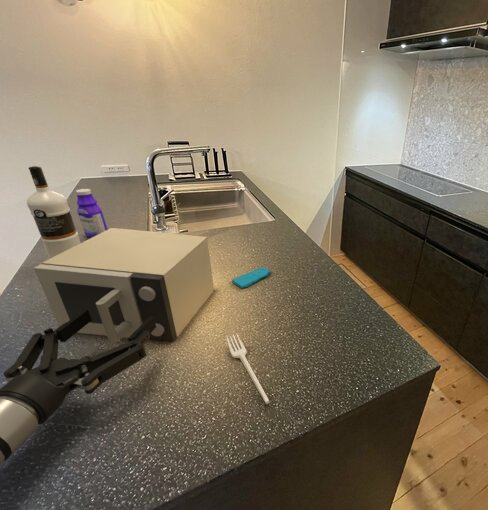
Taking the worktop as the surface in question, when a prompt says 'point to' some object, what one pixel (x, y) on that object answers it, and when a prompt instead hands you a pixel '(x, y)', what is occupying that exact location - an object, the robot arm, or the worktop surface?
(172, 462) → the worktop surface
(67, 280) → the microwave door
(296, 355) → the worktop surface
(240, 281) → the sponge
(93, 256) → the microwave
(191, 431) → the worktop surface
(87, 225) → the bottle
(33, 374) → the robot arm
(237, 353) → the fork
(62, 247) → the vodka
